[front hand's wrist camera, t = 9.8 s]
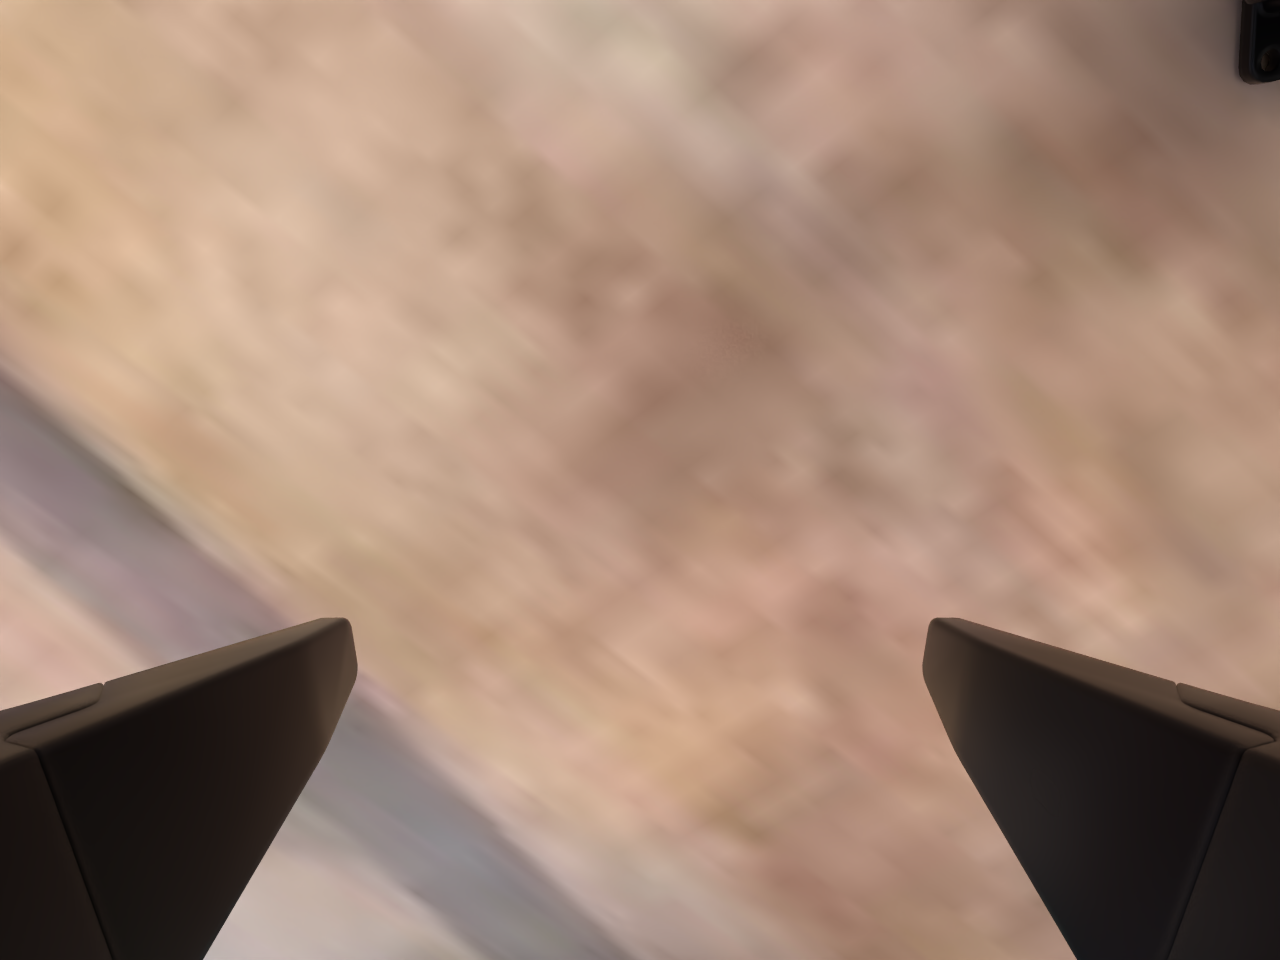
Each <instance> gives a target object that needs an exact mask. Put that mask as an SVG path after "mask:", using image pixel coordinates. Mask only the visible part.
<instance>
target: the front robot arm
mask: <svg viewBox="0 0 1280 960" xmlns="http://www.w3.org/2000/svg"><path fill="white" fill-rule="evenodd" d="M1265 53H1267V54H1268V55H1269V64H1268V66H1267V68H1266V69H1265V70H1263V69H1262V68H1261V59H1262V56H1263V55H1264V54H1265ZM1239 74H1240V77H1241V78H1242V79H1243V81H1244V82H1246V83H1248V84H1261V83H1267V82H1272V81H1276V80H1280V0H1242V16H1241V34H1240V52H1239ZM356 676H357V658H356V651H355V645H354V639H353V633H352V627H351V624H350V622H349V621H348V620H347V619H346V618H320V619H316V620H313V621H310V622H306V623H303V624H300V625H296V626H293V627H289V628H286V629H283V630H279V631H276V632H273V633H269V634H266V635H262V636H259V637H256V638H252V639H249V640H246V641H242V642H239V643H235V644H232V645H229V646H225V647H222V648H218V649H215V650H212V651H208V652H205V653H202V654H198V655H195V656H191V657H188V658H185V659H181V660H178V661H175V662H171V663H168V664H164V665H161V666H158V667H154V668H151V669H148V670H144V671H141V672H137V673H134V674H131V675H127V676H124V677H120V678H117V679H114V680H110V681H107V682H105V684H104V686H103V684H102V683H97V684H93V685H90V686H87V687H83V688H80V689H76V690H73V691H70V692H66V693H63V694H59V695H56V696H52V697H49V698H45V699H42V700H38V701H35V702H31V703H27V704H24V705H20V706H16V707H13V708H9V709H5V710H2V711H0V960H203V959H204V957H205V955H206V954H207V952H208V950H209V948H210V947H211V945H212V943H213V942H214V940H215V938H216V936H217V935H218V933H219V931H220V930H221V928H222V926H223V925H224V923H225V921H226V919H227V918H228V916H229V914H230V913H231V911H232V909H233V908H234V906H235V904H236V902H237V901H238V899H239V897H240V896H241V894H242V892H243V891H244V889H245V887H246V885H247V884H248V882H249V880H250V879H251V877H252V875H253V874H254V872H255V870H256V868H257V867H258V865H259V863H260V862H261V860H262V858H263V856H264V855H265V853H266V851H267V850H268V848H269V846H270V845H271V843H272V841H273V839H274V838H275V836H276V834H277V833H278V831H279V829H280V828H281V826H282V824H283V822H284V821H285V819H286V817H287V816H288V814H289V812H290V811H291V809H292V807H293V805H294V804H295V802H296V800H297V799H298V797H299V795H300V794H301V792H302V790H303V788H304V787H305V785H306V783H307V782H308V780H309V778H310V777H311V775H312V773H313V771H314V770H315V768H316V766H317V765H318V763H319V761H320V759H321V757H322V756H323V754H324V752H325V750H326V748H327V746H328V744H329V742H330V739H331V737H332V735H333V732H334V730H335V728H336V725H337V723H338V721H339V718H340V716H341V714H342V711H343V709H344V707H345V704H346V702H347V700H348V697H349V695H350V693H351V690H352V688H353V686H354V683H355V680H356ZM923 676H924V680H925V683H926V686H927V688H928V690H929V693H930V695H931V697H932V700H933V702H934V704H935V707H936V709H937V711H938V714H939V716H940V718H941V721H942V723H943V725H944V728H945V730H946V732H947V735H948V737H949V739H950V742H951V744H952V746H953V748H954V750H955V752H956V754H957V756H958V757H959V759H960V761H961V763H962V765H963V766H964V768H965V770H966V771H967V773H968V775H969V777H970V778H971V780H972V782H973V783H974V785H975V787H976V788H977V790H978V792H979V794H980V795H981V797H982V799H983V800H984V802H985V804H986V805H987V807H988V809H989V811H990V812H991V814H992V816H993V817H994V819H995V821H996V822H997V824H998V826H999V828H1000V829H1001V831H1002V833H1003V834H1004V836H1005V838H1006V839H1007V841H1008V843H1009V845H1010V846H1011V848H1012V850H1013V851H1014V853H1015V855H1016V856H1017V858H1018V860H1019V862H1020V863H1021V865H1022V867H1023V868H1024V870H1025V872H1026V874H1027V875H1028V877H1029V879H1030V880H1031V882H1032V884H1033V885H1034V887H1035V889H1036V891H1037V892H1038V894H1039V896H1040V897H1041V899H1042V901H1043V902H1044V904H1045V906H1046V908H1047V909H1048V911H1049V913H1050V914H1051V916H1052V918H1053V919H1054V921H1055V923H1056V925H1057V926H1058V928H1059V930H1060V931H1061V933H1062V935H1063V936H1064V938H1065V940H1066V942H1067V943H1068V945H1069V947H1070V948H1071V950H1072V952H1073V954H1074V955H1075V957H1076V959H1077V960H1280V711H1278V710H1275V709H1271V708H1267V707H1264V706H1260V705H1256V704H1253V703H1249V702H1245V701H1242V700H1238V699H1235V698H1231V697H1228V696H1224V695H1221V694H1217V693H1214V692H1210V691H1207V690H1204V689H1200V688H1197V687H1193V686H1190V685H1187V684H1183V683H1178V684H1177V686H1176V684H1175V682H1173V681H1170V680H1166V679H1163V678H1160V677H1156V676H1153V675H1149V674H1146V673H1143V672H1139V671H1136V670H1132V669H1129V668H1126V667H1122V666H1119V665H1116V664H1112V663H1109V662H1105V661H1102V660H1099V659H1095V658H1092V657H1089V656H1085V655H1082V654H1078V653H1075V652H1072V651H1068V650H1065V649H1062V648H1058V647H1055V646H1051V645H1048V644H1045V643H1041V642H1038V641H1034V640H1031V639H1028V638H1024V637H1021V636H1018V635H1014V634H1011V633H1007V632H1004V631H1001V630H997V629H994V628H991V627H987V626H984V625H980V624H977V623H974V622H970V621H967V620H964V619H960V618H934V619H933V620H932V621H931V622H930V624H929V627H928V633H927V639H926V645H925V651H924V658H923Z"/></svg>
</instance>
